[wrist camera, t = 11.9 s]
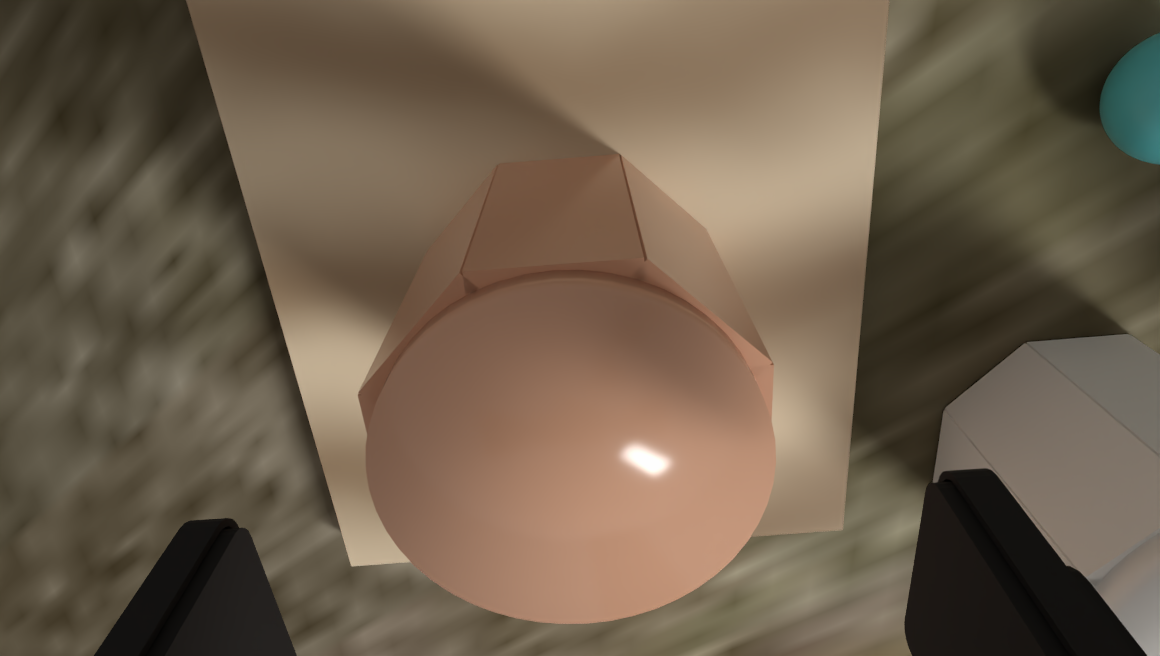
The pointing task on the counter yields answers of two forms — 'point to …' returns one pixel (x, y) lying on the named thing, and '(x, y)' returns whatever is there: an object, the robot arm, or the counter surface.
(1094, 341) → the white domed cap nut
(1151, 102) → the marble
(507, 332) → the pink acorn nut
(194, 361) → the counter surface
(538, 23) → the oak board
